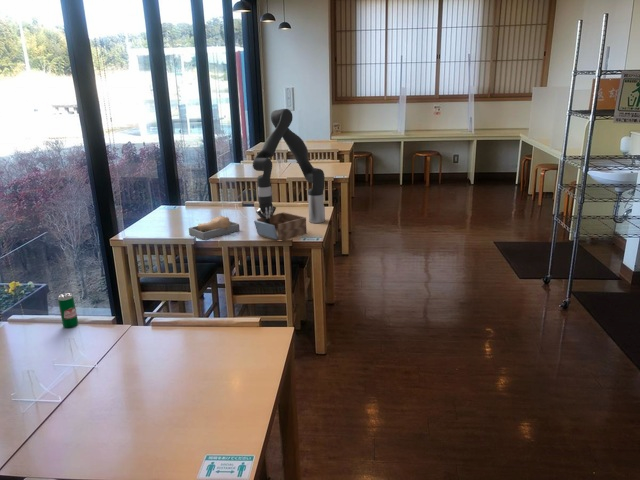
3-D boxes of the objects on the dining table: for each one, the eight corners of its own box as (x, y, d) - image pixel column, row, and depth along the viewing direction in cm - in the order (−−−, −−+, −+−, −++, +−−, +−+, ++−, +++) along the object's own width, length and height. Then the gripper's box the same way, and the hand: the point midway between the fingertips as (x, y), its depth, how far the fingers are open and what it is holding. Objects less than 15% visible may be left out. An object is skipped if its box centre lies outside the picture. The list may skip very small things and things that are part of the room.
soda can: (66, 330, 178) (60, 299, 175) (60, 325, 181) (54, 295, 178) (80, 324, 182) (75, 294, 178) (74, 321, 185) (69, 291, 181)
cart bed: (284, 227, 299) (283, 212, 296) (306, 233, 286) (306, 217, 283) (258, 234, 286) (257, 218, 284) (280, 241, 273) (279, 224, 270)
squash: (230, 234, 287) (226, 219, 283) (197, 238, 290) (192, 224, 286) (234, 225, 297) (230, 212, 293) (202, 230, 300) (198, 216, 296)
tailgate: (259, 232, 285) (255, 220, 281) (277, 238, 273) (274, 225, 270) (257, 233, 284) (254, 221, 280) (276, 239, 272) (272, 226, 269)
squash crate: (224, 225, 306) (224, 219, 305) (239, 230, 296) (239, 224, 294) (189, 234, 290) (188, 228, 289) (203, 239, 279) (202, 233, 278)
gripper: (270, 191, 278) (272, 221, 284) (251, 195, 270) (253, 226, 275) (278, 193, 273) (280, 223, 279) (259, 197, 265) (262, 229, 270)
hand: (267, 224), depth 277 cm, fingers closed
